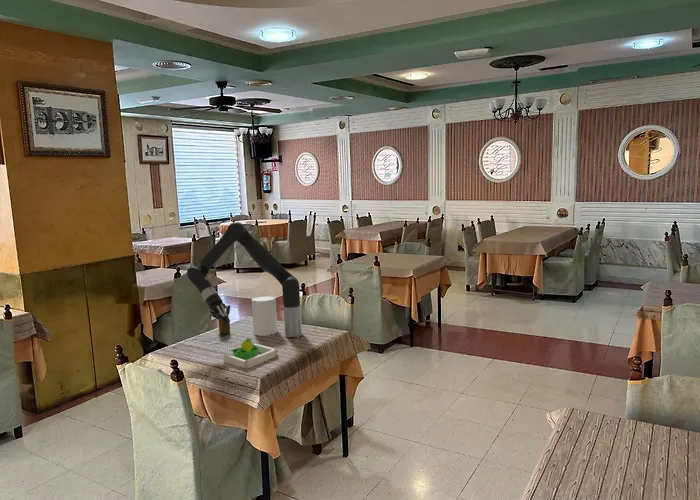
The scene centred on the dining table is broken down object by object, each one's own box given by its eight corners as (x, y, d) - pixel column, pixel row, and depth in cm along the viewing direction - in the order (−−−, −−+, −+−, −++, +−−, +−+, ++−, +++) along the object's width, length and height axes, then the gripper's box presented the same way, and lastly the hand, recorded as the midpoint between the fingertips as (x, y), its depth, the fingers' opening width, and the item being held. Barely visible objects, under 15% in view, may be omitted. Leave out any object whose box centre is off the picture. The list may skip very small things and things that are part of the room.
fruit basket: (253, 354, 254) (252, 332, 252) (261, 359, 247) (259, 336, 245) (232, 359, 247) (230, 337, 246) (239, 364, 240) (237, 342, 238)
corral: (224, 361, 245) (223, 354, 244) (255, 349, 260) (255, 343, 259) (245, 369, 234) (245, 361, 234) (277, 356, 250) (277, 349, 249)
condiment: (227, 331, 294) (226, 311, 292) (234, 334, 287) (233, 314, 286) (216, 334, 289) (214, 313, 288) (222, 337, 283) (221, 316, 281)
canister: (249, 334, 285) (247, 300, 282) (260, 327, 298) (258, 295, 295) (271, 336, 281) (268, 301, 278) (281, 329, 294) (279, 295, 291)
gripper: (203, 296, 255) (220, 322, 249) (224, 290, 265) (241, 315, 260) (198, 304, 259) (214, 331, 254) (219, 299, 270) (235, 324, 264)
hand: (228, 323), depth 257 cm, fingers closed
